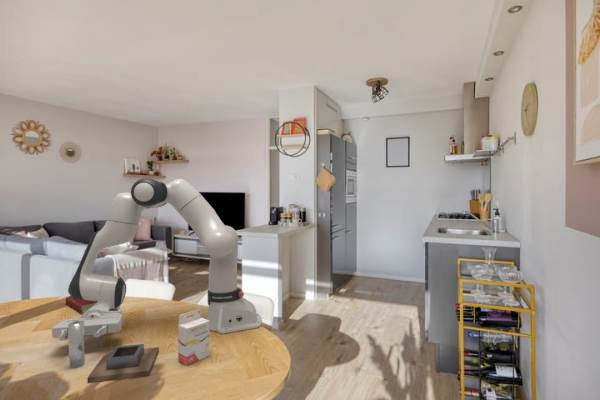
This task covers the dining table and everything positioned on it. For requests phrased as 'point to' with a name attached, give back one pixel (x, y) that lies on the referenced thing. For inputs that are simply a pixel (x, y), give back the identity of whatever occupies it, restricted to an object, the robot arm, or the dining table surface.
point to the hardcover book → (80, 304)
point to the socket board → (123, 373)
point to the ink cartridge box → (192, 337)
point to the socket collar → (125, 356)
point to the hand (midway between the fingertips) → (79, 336)
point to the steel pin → (76, 344)
